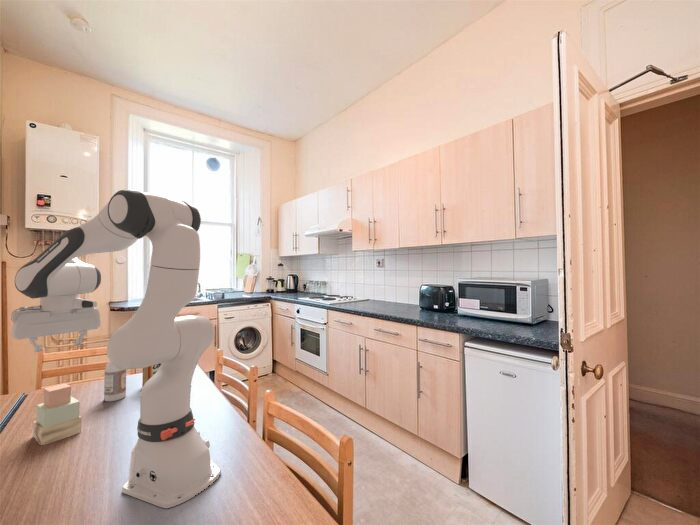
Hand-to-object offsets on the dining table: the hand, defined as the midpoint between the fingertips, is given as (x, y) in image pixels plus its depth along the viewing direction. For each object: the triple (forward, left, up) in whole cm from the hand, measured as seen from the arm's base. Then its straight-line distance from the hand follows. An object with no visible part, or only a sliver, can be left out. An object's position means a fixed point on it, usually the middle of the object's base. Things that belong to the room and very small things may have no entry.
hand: (59, 348), depth 95 cm
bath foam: (+17, -22, -27) cm, 39 cm away
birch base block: (0, 0, -27) cm, 27 cm away
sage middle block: (0, 0, -22) cm, 22 cm away
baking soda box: (+17, -38, -27) cm, 49 cm away
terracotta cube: (0, 0, -17) cm, 17 cm away
